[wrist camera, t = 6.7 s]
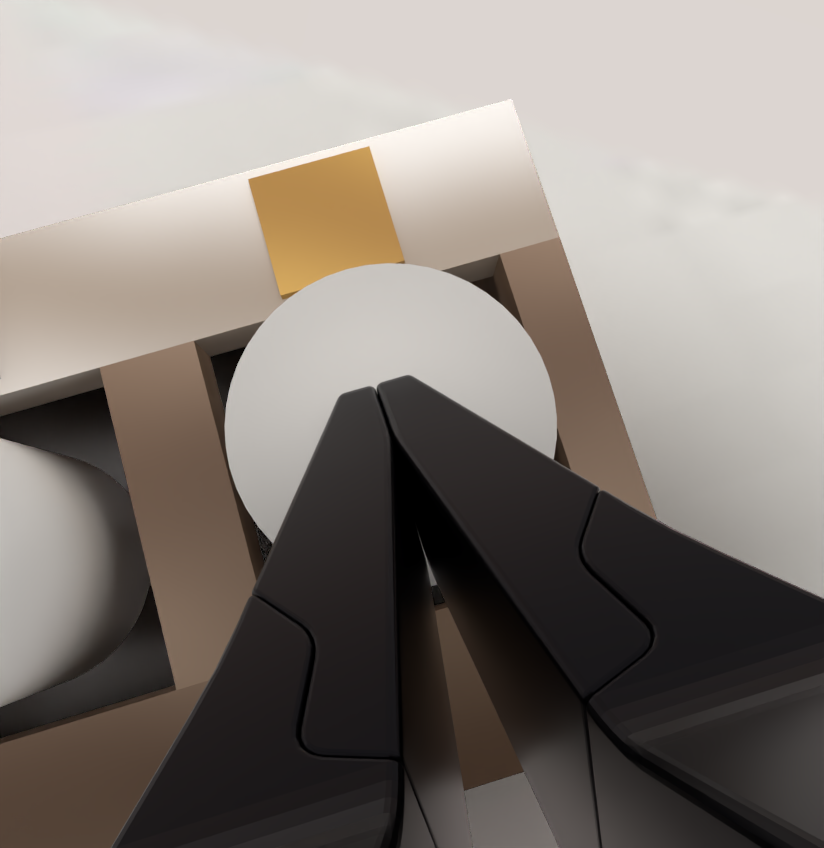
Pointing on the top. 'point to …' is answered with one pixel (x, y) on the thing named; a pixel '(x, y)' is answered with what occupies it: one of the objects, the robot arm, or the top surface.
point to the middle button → (63, 569)
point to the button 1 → (374, 370)
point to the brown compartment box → (205, 418)
